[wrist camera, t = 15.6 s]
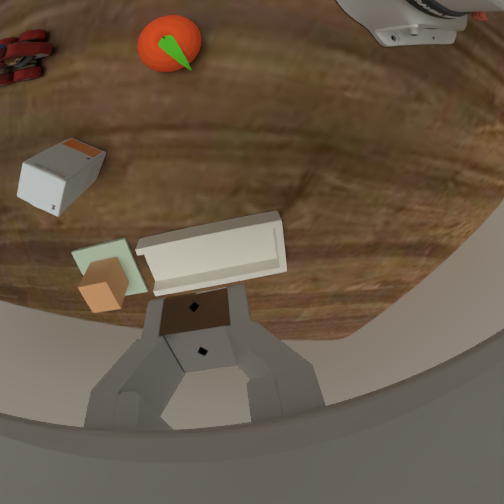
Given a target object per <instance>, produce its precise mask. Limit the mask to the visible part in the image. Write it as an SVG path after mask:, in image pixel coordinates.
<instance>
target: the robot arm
mask: <svg viewBox="0 0 504 504" xmlns="http://www.w3.org/2000/svg"><path fill="white" fill-rule="evenodd" d="M336 1H337V2H338V4H339V5H340V6H341V7H342V8H343V9H344V11H345V12H346V13H347V14H349V15H350V16H351V17H352V18H353V19H355V20H356V21H357V22H359V23H360V24H362V25H363V26H365V27H366V28H367V29H368V30H369V31H370V32H371V33H372V35H373V36H374V38H375V39H376V40H377V41H378V43H379V44H380V45H382V46H384V47H394V46H407V45H433V44H453V43H454V41H455V38H456V34H457V31H463V30H464V29H465V28H466V25H467V18H468V16H467V14H469V13H470V12H472V17H473V18H474V19H477V20H481V21H486V20H487V16H486V13H485V11H490V12H504V0H336ZM391 36H392V37H393V39H394V40H392V39H391ZM236 365H238V367H239V368H240V369H241V370H242V371H243V372H244V373H245V374H246V375H247V377H248V378H249V379H250V380H249V382H248V383H247V389H248V390H247V391H248V399H249V407H250V415H251V422H248V423H241V424H234V425H226V426H217V427H208V428H195V429H180V430H173V429H172V428H171V427H170V426H169V425H168V424H167V423H166V422H165V421H164V420H163V419H162V418H161V417H160V416H161V414H162V412H163V410H164V409H165V407H166V406H167V404H168V402H169V400H170V399H171V397H172V395H173V394H174V392H175V390H176V389H177V387H178V385H179V384H180V382H181V380H182V378H183V377H184V375H185V373H186V372H193V371H200V370H205V369H213V368H220V367H229V366H236ZM0 504H504V329H503V330H501V331H499V332H498V333H496V334H494V335H493V336H491V337H489V338H488V339H486V340H484V341H483V342H481V343H479V344H477V345H476V346H474V347H472V348H470V349H469V350H467V351H465V352H463V353H461V354H459V355H457V356H455V357H453V358H451V359H449V360H447V361H445V362H443V363H441V364H439V365H437V366H435V367H433V368H430V369H428V370H426V371H424V372H421V373H419V374H417V375H415V376H412V377H410V378H407V379H405V380H402V381H400V382H397V383H395V384H392V385H390V386H387V387H384V388H382V389H379V390H376V391H373V392H370V393H368V394H364V395H361V396H358V397H355V398H352V399H349V400H345V401H342V402H339V403H335V404H332V405H328V406H325V403H324V399H323V396H322V393H321V390H320V387H319V384H318V380H317V377H316V374H315V371H314V368H313V365H312V364H311V363H310V362H308V361H307V360H306V359H304V358H303V357H302V356H300V355H299V354H298V353H296V352H294V350H292V349H291V348H290V347H288V346H287V345H286V344H285V343H283V342H282V341H281V340H279V339H278V338H277V337H276V336H274V335H273V334H272V333H270V332H269V331H268V330H267V329H265V328H264V327H263V326H261V325H260V324H259V323H258V322H256V321H252V317H251V313H250V308H249V303H248V299H247V294H246V289H245V285H244V284H243V283H242V284H237V285H232V286H228V287H225V288H220V289H214V290H209V291H204V292H198V293H192V294H185V295H179V296H172V297H166V298H160V299H153V300H151V301H150V302H149V303H148V307H147V312H146V317H145V322H144V327H143V332H142V338H141V339H137V340H136V341H135V342H134V343H133V344H132V345H131V346H130V348H129V349H128V350H127V351H126V352H125V353H124V354H123V355H122V356H121V358H120V359H119V360H118V361H117V362H116V363H115V364H114V365H113V366H112V368H111V369H110V370H109V371H108V372H107V373H106V374H105V375H104V377H103V378H102V379H101V380H100V381H99V382H98V383H97V385H96V386H95V387H94V388H93V389H92V390H91V393H90V398H89V403H88V408H87V413H86V418H85V424H84V427H74V426H66V425H59V424H52V423H46V422H40V421H35V420H29V419H25V418H21V417H16V416H12V415H8V414H4V413H0Z"/></svg>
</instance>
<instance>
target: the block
mask: <svg viewBox="0 0 504 504" xmlns="http://www.w3.org/2000/svg"><path fill="white" fill-rule="evenodd" d="M128 284H129V281H128V279H127V277H126V275H125V273H124V271H123V269H122V267H121V265H120V262H119V260H118V258H117V257H114V258H109V259H105V260H100V261H96V262H92V263H90V264H89V266H88V268H87V270H86V272H85V274H84V276H83V278H82V280H81V282H80V284H79V286H78V289H79V290H80V292H81V294H82V295H83V297H84V299H85V300H86V302H87V304H88V305H89V307H90V309H91V310H92V312H93V313H96V312H103V311H109V310H116V309H121V307H122V303H123V300H124V297H125V294H126V290H127V287H128Z"/></svg>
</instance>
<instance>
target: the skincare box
mask: <svg viewBox="0 0 504 504" xmlns="http://www.w3.org/2000/svg"><path fill="white" fill-rule="evenodd" d="M105 156H106V152H105V151H102V150H100V149H97V148H95V147H92V146H90V145H88V144H85V143H83V142H81V141H79V140H77V139H74V138H70V139H67V140H65V141H63V142H61V143H59V144H57V145H55V146H53V147H51V148H49V149H47V150H45V151H43V152H41V153H39V154H37V155H35V156H33V157H31V158H30V159H28V160H26V161H24V162H23V165H22V170H21V175H20V180H19V185H18V191H17V197H19V198H21V199H23V200H25V201H27V202H29V203H30V204H32V205H33V206H35V207H37V208H39V209H42V210H45V211H47V212H49V213H51V214H53V215H55V216H57V217H59V216H60V215H61V214H62V213H63V212H64V211H65V210H66V209H67V208H68V207H69V206H70V205H71V204H72V203H73V202H74V201H75V200H76V199H77V198H78V197H79V196H80V195H81V194H82V193H83V192H84V191H85V190H86V189H87V188H88V187H89V186H90V185H91V184H92V183H93V182H95V181H96V180H97V178H98V175H99V172H100V169H101V166H102V163H103V161H104V158H105Z"/></svg>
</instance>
